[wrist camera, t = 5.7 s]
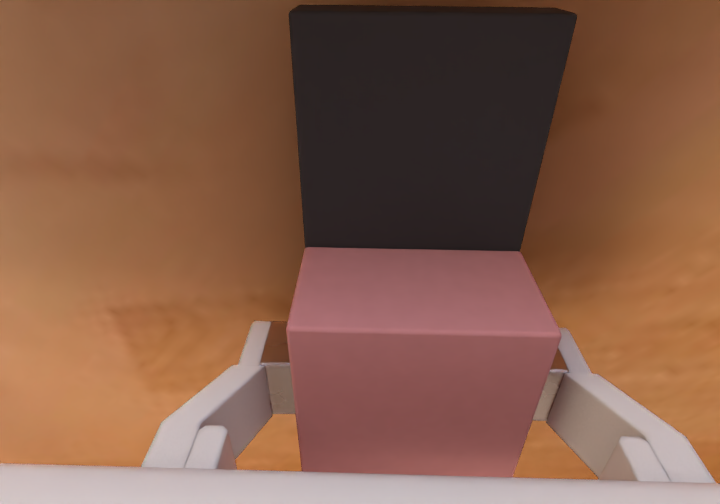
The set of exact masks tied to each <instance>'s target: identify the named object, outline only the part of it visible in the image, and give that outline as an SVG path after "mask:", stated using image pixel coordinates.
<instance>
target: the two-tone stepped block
mask: <svg viewBox="0 0 720 504" xmlns="http://www.w3.org/2000/svg"><path fill="white" fill-rule="evenodd" d="M576 20H577V15H576V14H574V13H572V12H568V11H565V10H561V9H558V8H537V7H450V6H363V5H299V6H297V7H295V8H294V9H292V10H291V11H290V12H289V25H290V39H291V54H292V68H293V82H294V96H295V110H296V125H297V139H298V153H299V167H300V181H301V196H302V210H303V224H304V238H305V250H304V254H303V258H302V263H301V267H300V271H299V275H298V280H297V284H296V288H295V293H294V297H293V301H292V306H291V310H290V314H289V319H288V323H287V327H286V332H287V341H288V350H289V359H290V368H291V377H292V386H293V395H294V404H295V413H296V422H297V431H298V440H299V449H300V458H301V467H302V472H337V473H372V474H407V475H442V476H478V477H513V474H514V471H515V468H516V466H517V463H518V460H519V457H520V454H521V451H522V448H523V446H524V443H525V440H526V437H527V434H528V431H529V428H530V426H531V423H532V420H533V417H534V414H535V411H536V408H537V406H538V403H539V400H540V397H541V394H542V391H543V388H544V386H545V383H546V380H547V377H548V374H549V371H550V368H551V366H552V363H553V360H554V357H555V354H556V351H557V349H558V346H559V343H560V340H561V336H562V335H561V331H560V329H559V327H558V325H557V323H556V321H555V319H554V317H553V315H552V313H551V311H550V309H549V307H548V305H547V303H546V301H545V299H544V297H543V295H542V293H541V291H540V289H539V287H538V285H537V283H536V281H535V279H534V277H533V275H532V273H531V271H530V269H529V267H528V265H527V263H526V261H525V259H524V257H523V255H522V253H521V252H520V249H521V244H522V240H523V236H524V232H525V228H526V224H527V220H528V216H529V212H530V208H531V204H532V200H533V195H534V191H535V187H536V183H537V179H538V175H539V171H540V167H541V163H542V159H543V155H544V150H545V146H546V142H547V138H548V134H549V130H550V126H551V122H552V118H553V114H554V110H555V106H556V101H557V97H558V93H559V89H560V85H561V81H562V77H563V73H564V69H565V65H566V61H567V56H568V52H569V48H570V44H571V40H572V36H573V32H574V28H575V24H576Z"/></svg>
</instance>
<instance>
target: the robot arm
mask: <svg viewBox="0 0 720 504" xmlns="http://www.w3.org/2000/svg"><path fill="white" fill-rule="evenodd" d="M287 323H288V322H281V321H273V322H271V321H254V322H253V323H252V324H251V327H250V330H249V333H248V336H247V339H246V342H245V345H244V348H243V351H242V354H241V357H240V360H239V363H238V365H232V366H231V367H229V368H228V369H227V370H226V371H224V372H223V373H222V374H221V375H219V376H218V377H217V378H216V379H214V380H213V381H212V382H211V383H209V384H208V385H207V386H206V387H204V388H203V389H202V390H201V391H199V392H198V393H197V394H196V395H195V396H193V397H192V398H191V399H190V400H188V401H187V402H186V403H185V404H183V405H182V406H181V407H180V408H178V409H177V410H176V411H175V412H173V413H172V414H171V415H170V416H168V417H167V418H166V419H165V420H163V421H162V422H161V424H160V426H159V428H158V430H157V433H156V435H155V437H154V439H153V441H152V444H151V446H150V448H149V450H148V452H147V454H146V457H145V459H144V461H143V463H142V465H141V467H123V466H87V465H51V464H14V463H0V504H720V483H716V482H715V480H714V479H713V477H712V476H711V474H710V473H709V471H708V470H707V468H706V467H705V465H704V464H703V462H702V460H701V459H700V457H699V456H698V454H697V453H696V451H695V450H694V448H693V447H692V445H691V444H690V442H689V441H688V439H687V437H686V436H684V435H683V434H681V433H680V432H679V431H677V430H676V429H674V428H673V427H672V426H670V425H669V424H667V423H666V422H665V421H663V420H662V419H660V418H659V417H658V416H656V415H655V414H653V413H652V412H651V411H649V410H648V409H646V408H645V407H644V406H642V405H641V404H639V403H638V402H637V401H635V400H634V399H632V398H631V397H629V396H628V395H627V394H625V393H624V392H622V391H621V390H620V389H618V388H617V387H615V386H614V385H613V384H611V383H610V382H608V381H607V380H606V379H604V378H603V377H601V376H600V375H599V374H592V372H591V371H590V369H589V367H588V365H587V363H586V361H585V359H584V358H583V356H582V354H581V352H580V350H579V348H578V346H577V345H576V343H575V341H574V339H573V337H572V335H571V333H570V331H569V330H568V329H567V328H559V329H560V331H561V335H562V336H561V340H560V343H559V346H558V349H557V351H556V354H555V357H554V360H553V363H552V366H551V368H550V371H549V374H548V377H547V380H546V383H545V386H544V388H543V391H542V394H541V397H540V400H539V403H538V406H537V408H536V411H535V414H534V417H533V420H537V421H547V422H546V423H547V424H548V425H549V426H550V427H551V428H552V429H553V430H554V431H555V432H556V433H557V434H558V435H559V437H560V438H561V439H562V440H563V441H564V442H565V443H566V444H567V445H568V446H569V447H570V448H571V449H572V450H573V451H574V452H575V453H576V455H577V456H578V457H579V458H580V459H581V460H582V461H583V462H584V463H585V464H586V465H587V466H588V467H589V468H590V469H591V470H592V471H593V472H594V474H595V475H596V476H597V477H598V480H586V479H550V478H514V477H478V476H442V475H407V474H372V473H337V472H302V471H266V470H237V467H236V463H235V459H236V458H237V457H238V456H239V455H240V453H241V452H242V451H243V450H244V449H245V448H246V446H247V445H248V444H249V443H250V442H251V440H252V439H253V438H254V437H255V436H256V435H257V433H258V432H259V431H260V430H261V429H262V427H263V426H264V425H265V424H266V423H267V422H268V420H269V419H270V418H271V417H272V414H296V413H295V404H294V395H293V386H292V377H291V368H290V359H289V350H288V341H287V332H286V327H287Z"/></svg>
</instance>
